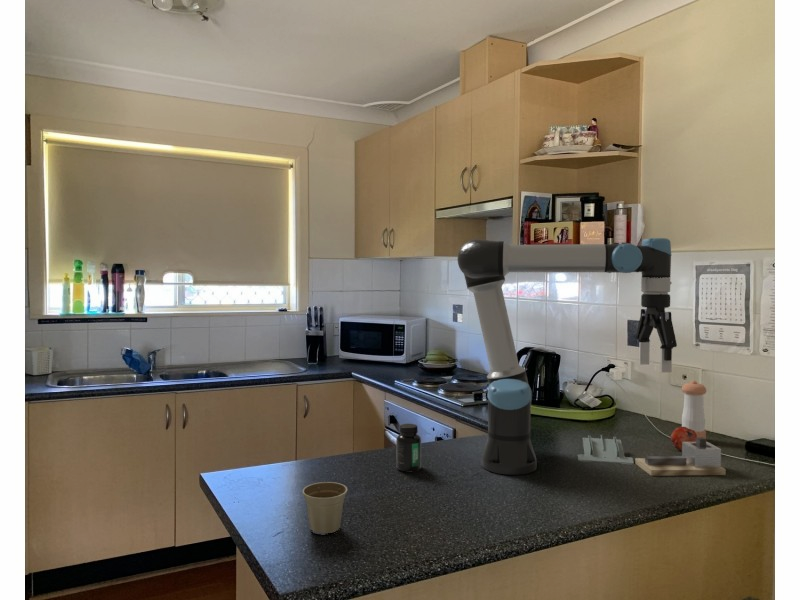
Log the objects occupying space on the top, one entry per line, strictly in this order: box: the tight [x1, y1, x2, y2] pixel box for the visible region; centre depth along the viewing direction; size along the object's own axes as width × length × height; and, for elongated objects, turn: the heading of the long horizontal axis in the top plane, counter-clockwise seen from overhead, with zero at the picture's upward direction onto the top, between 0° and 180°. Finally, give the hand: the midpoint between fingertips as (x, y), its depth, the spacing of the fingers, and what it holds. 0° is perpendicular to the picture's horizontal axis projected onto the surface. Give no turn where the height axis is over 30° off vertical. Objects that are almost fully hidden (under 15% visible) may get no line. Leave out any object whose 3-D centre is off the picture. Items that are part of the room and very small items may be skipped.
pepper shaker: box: [681, 380, 707, 440], centre depth 188 cm, size 7×7×19 cm
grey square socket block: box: [681, 441, 722, 468], centre depth 161 cm, size 7×7×5 cm
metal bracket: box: [577, 434, 635, 465], centre depth 173 cm, size 14×6×15 cm
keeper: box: [634, 437, 727, 477], centre depth 161 cm, size 20×10×8 cm, turn 91°
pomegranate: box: [670, 426, 697, 452], centre depth 178 cm, size 7×7×10 cm
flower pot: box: [302, 481, 348, 533], centre depth 124 cm, size 9×9×9 cm
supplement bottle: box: [395, 423, 422, 472], centre depth 162 cm, size 7×7×12 cm
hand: (654, 368), depth 167 cm, fingers open, 13 cm apart
